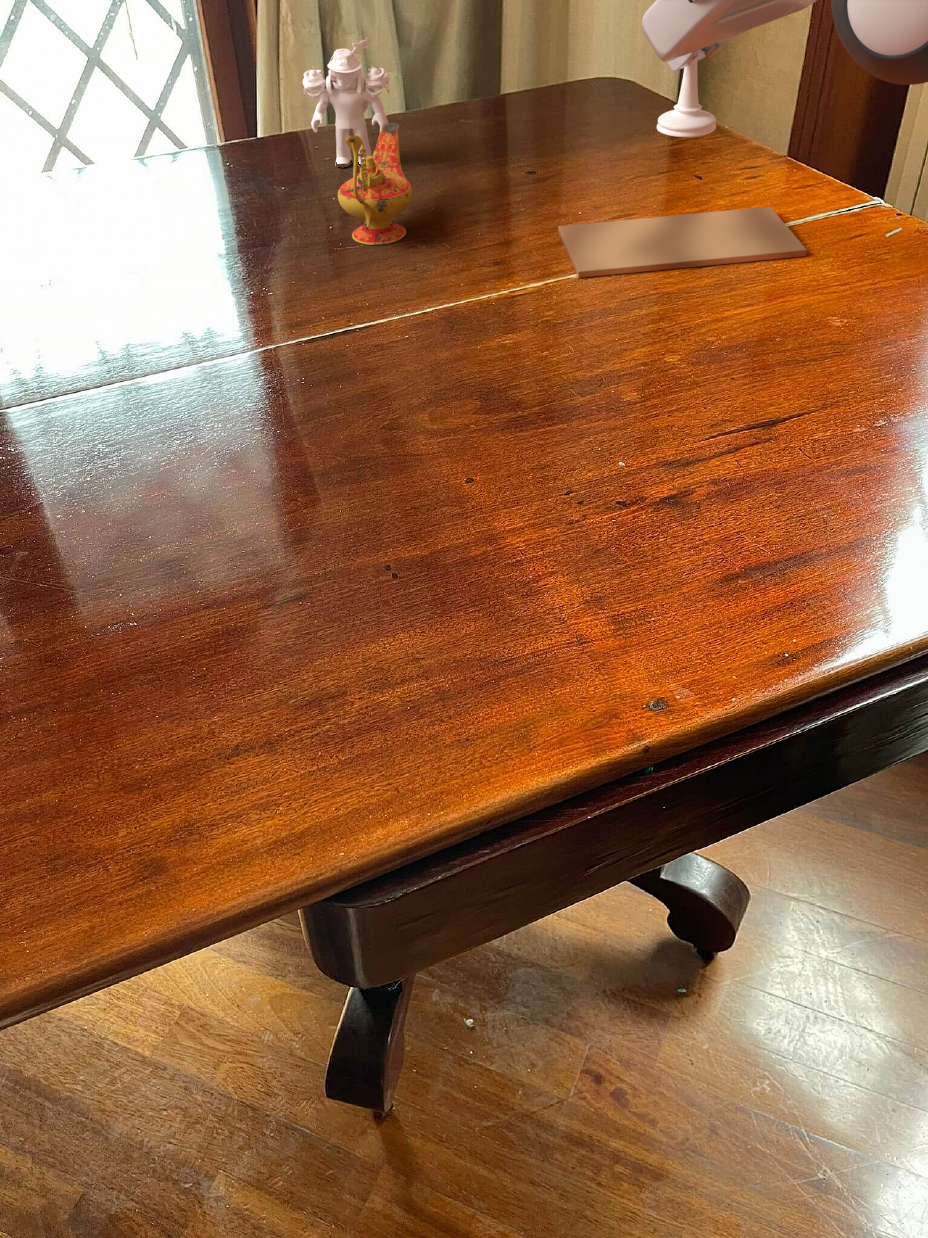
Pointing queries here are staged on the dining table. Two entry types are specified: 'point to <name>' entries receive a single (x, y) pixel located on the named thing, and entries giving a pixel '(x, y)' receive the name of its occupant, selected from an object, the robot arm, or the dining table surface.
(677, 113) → the chess piece
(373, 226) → the magic lamp
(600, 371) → the dining table surface
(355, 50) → the flower shoulder figurine
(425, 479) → the dining table surface
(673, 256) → the cork board
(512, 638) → the dining table surface
